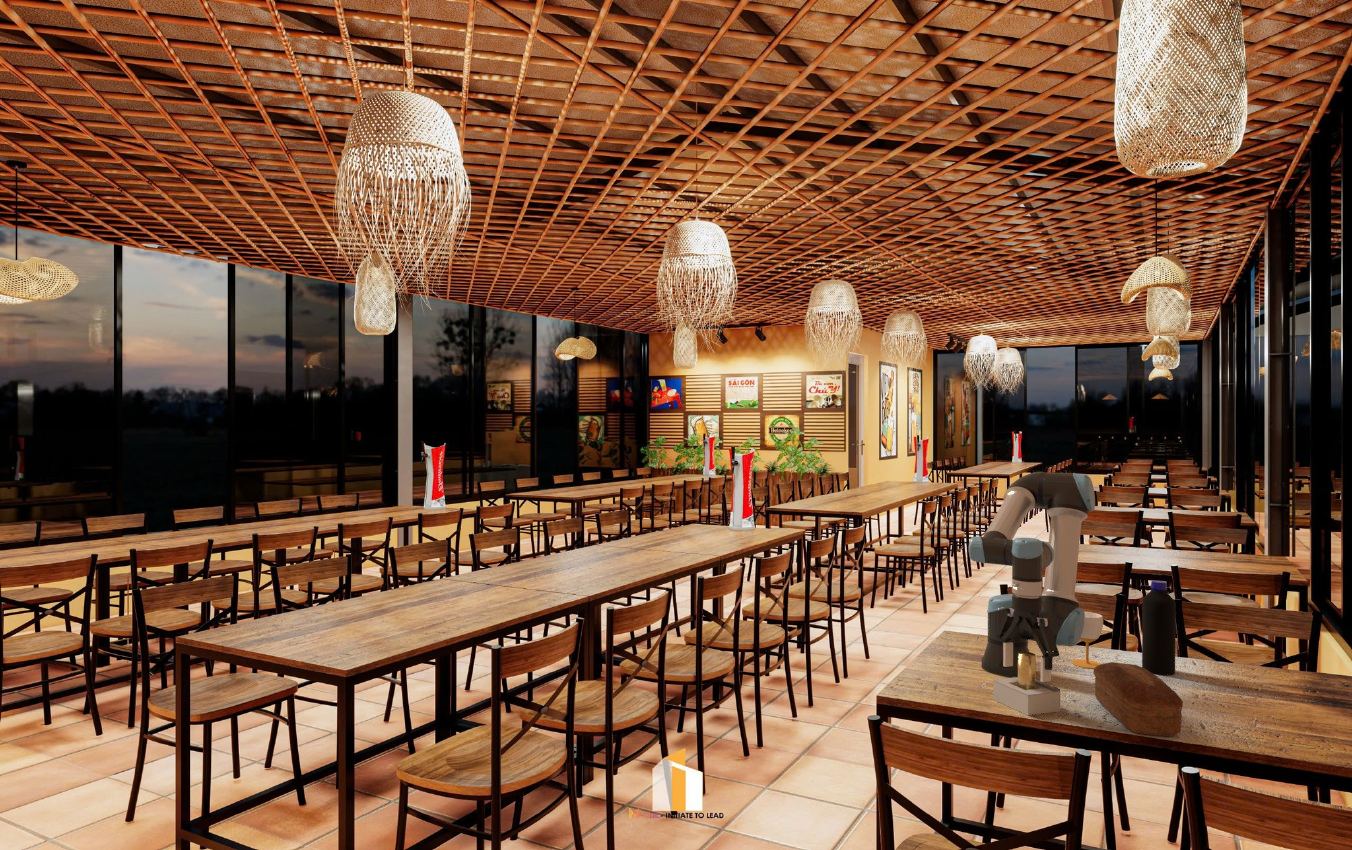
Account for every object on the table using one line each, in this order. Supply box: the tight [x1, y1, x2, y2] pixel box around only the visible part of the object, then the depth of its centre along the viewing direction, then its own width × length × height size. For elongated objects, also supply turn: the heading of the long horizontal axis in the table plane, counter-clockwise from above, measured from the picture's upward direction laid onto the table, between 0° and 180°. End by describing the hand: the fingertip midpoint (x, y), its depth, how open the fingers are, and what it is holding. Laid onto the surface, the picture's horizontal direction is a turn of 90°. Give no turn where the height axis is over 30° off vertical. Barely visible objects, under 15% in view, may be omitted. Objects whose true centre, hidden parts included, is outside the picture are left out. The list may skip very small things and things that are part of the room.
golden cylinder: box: [1018, 651, 1037, 690], centre depth 210 cm, size 4×4×14 cm
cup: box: [1070, 611, 1104, 670], centre depth 248 cm, size 9×9×16 cm
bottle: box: [1141, 580, 1177, 676], centre depth 242 cm, size 9×9×28 cm
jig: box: [992, 677, 1061, 716], centre depth 210 cm, size 11×13×6 cm
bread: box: [1093, 661, 1184, 737], centre depth 202 cm, size 14×28×12 cm, turn 170°
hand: (1026, 673), depth 210 cm, fingers open, 13 cm apart
